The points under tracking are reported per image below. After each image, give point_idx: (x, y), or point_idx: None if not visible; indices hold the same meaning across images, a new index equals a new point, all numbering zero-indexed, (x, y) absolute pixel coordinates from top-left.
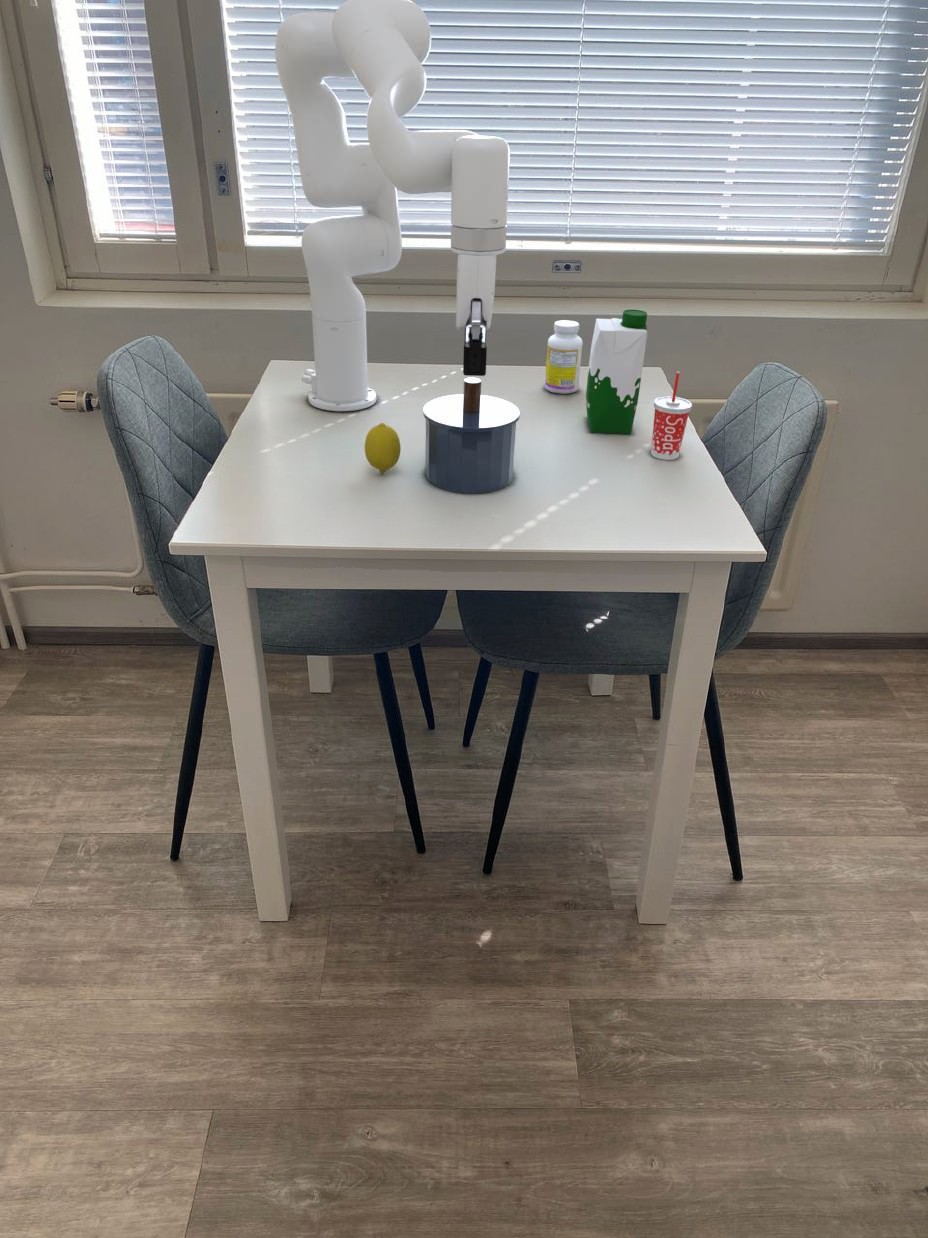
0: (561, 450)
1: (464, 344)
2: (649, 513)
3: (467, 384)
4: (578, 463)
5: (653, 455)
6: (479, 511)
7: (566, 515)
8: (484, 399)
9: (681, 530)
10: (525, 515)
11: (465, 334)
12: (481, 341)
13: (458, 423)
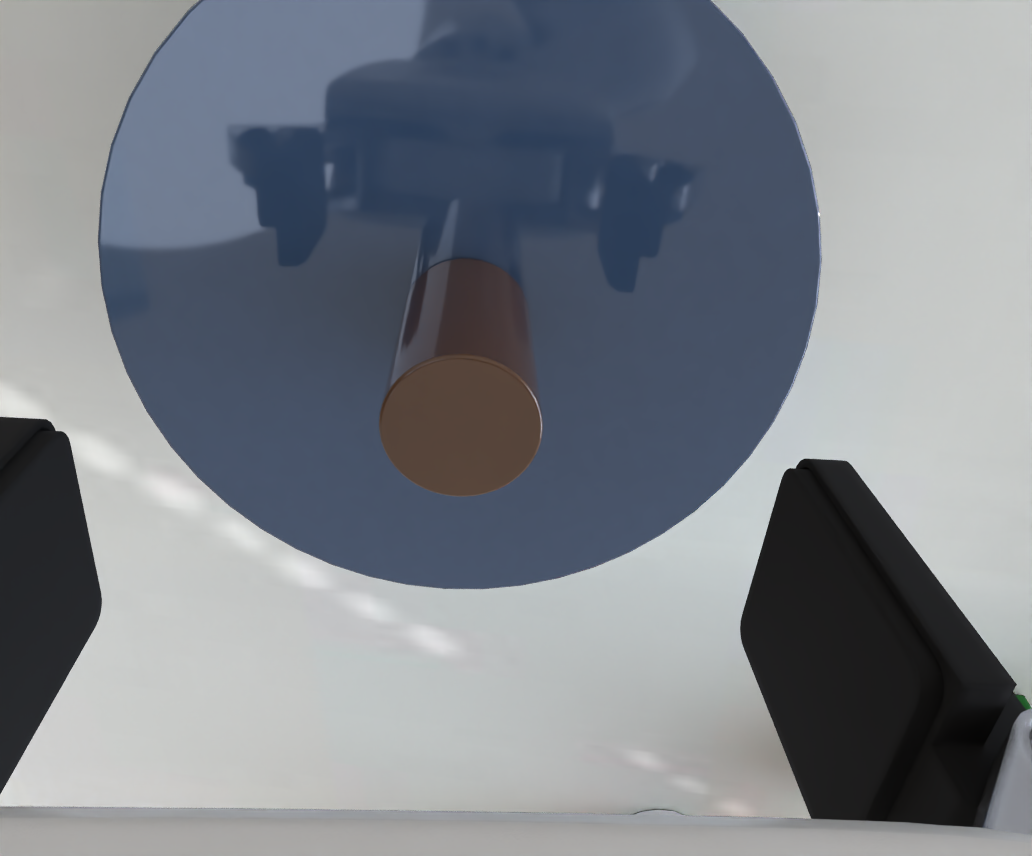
0: (727, 581)
1: (853, 522)
2: (200, 744)
3: (393, 375)
4: (596, 618)
5: (640, 814)
6: (74, 211)
7: (124, 531)
8: (687, 416)
9: (100, 792)
10: (85, 395)
11: (919, 620)
12: (795, 719)
13: (174, 208)
